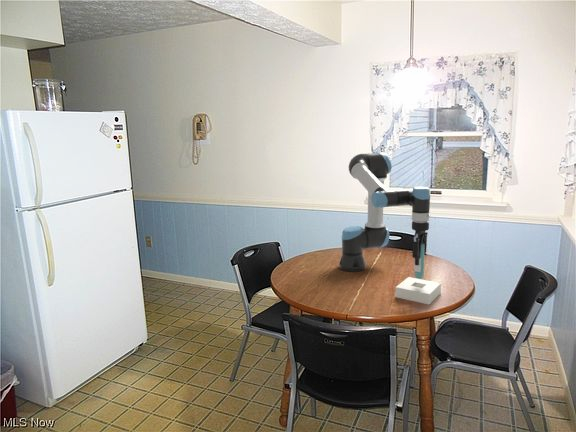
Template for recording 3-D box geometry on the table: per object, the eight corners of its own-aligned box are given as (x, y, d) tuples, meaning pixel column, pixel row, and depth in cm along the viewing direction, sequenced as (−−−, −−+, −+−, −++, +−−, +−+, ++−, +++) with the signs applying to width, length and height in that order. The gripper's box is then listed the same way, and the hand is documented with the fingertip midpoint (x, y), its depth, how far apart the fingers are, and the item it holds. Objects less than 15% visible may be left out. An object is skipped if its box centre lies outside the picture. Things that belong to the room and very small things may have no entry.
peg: (413, 277, 199) (414, 244, 196) (416, 275, 202) (417, 242, 199) (421, 279, 197) (422, 245, 193) (424, 276, 200) (425, 243, 197)
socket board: (395, 297, 200) (395, 287, 199) (408, 286, 212) (408, 277, 211) (429, 304, 190) (429, 294, 189) (440, 293, 203) (441, 283, 202)
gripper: (421, 225, 185) (420, 276, 190) (434, 218, 198) (433, 266, 203) (405, 223, 190) (404, 273, 194) (419, 217, 203) (417, 263, 207)
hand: (419, 269), depth 199 cm, fingers closed on peg, 4 cm apart
